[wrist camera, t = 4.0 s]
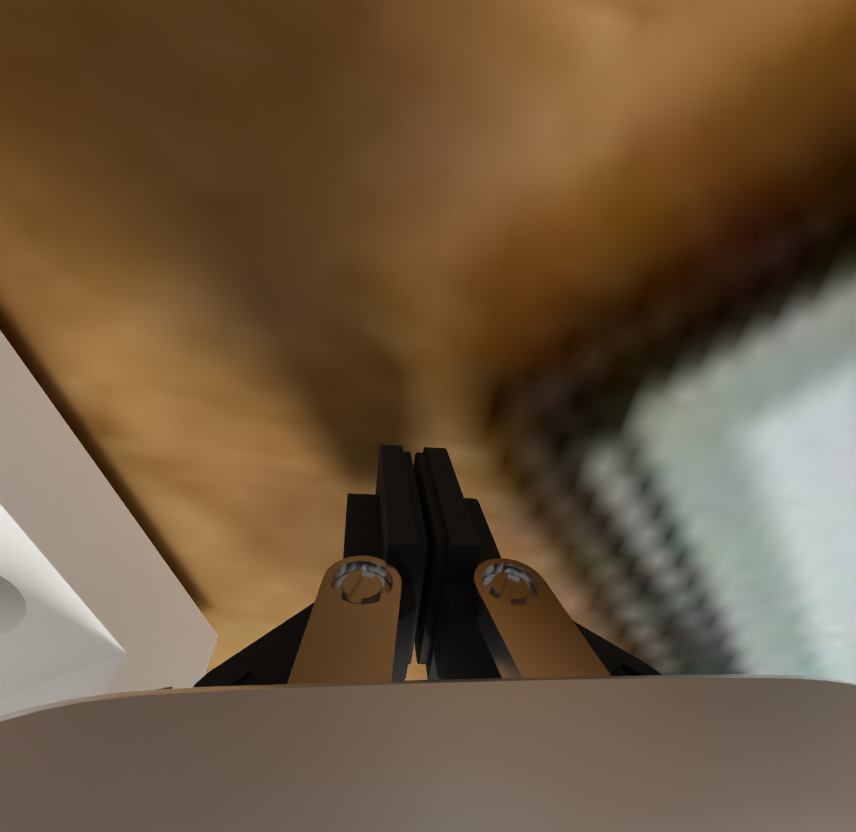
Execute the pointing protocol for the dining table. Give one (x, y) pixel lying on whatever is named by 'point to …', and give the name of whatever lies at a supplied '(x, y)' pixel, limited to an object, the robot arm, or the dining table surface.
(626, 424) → the dining table surface
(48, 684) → the bracket
